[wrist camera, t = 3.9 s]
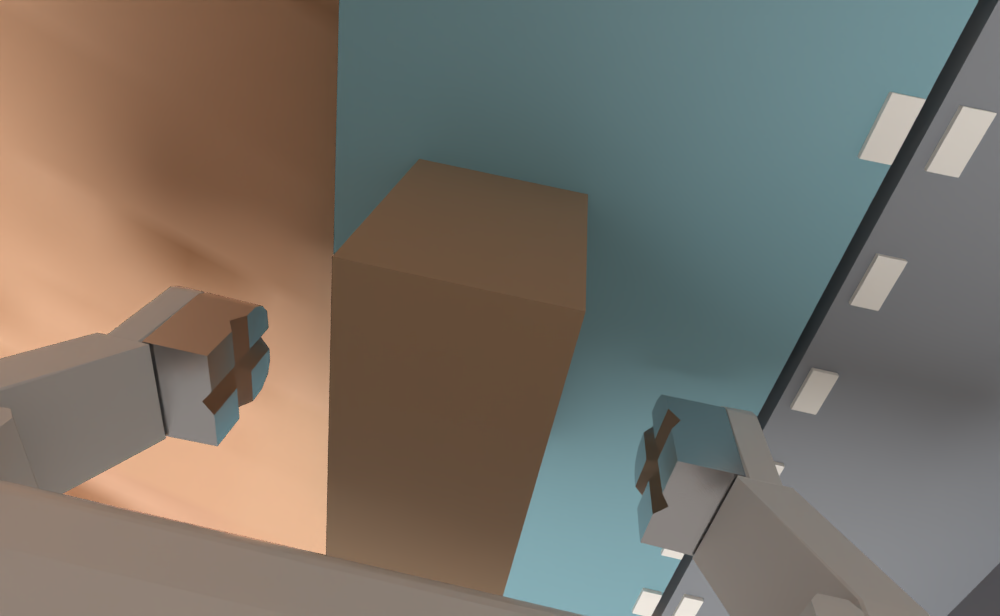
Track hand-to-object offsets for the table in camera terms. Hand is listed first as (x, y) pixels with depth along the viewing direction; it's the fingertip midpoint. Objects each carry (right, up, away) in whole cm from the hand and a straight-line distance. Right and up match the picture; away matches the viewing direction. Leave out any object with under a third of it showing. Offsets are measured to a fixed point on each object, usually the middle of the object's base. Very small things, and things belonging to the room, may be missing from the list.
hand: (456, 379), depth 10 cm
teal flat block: (+2, +1, +3) cm, 4 cm away
